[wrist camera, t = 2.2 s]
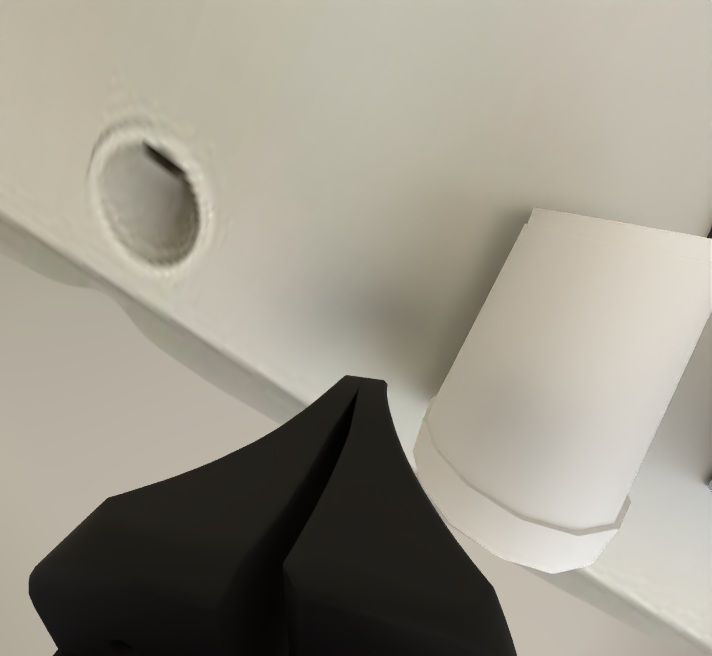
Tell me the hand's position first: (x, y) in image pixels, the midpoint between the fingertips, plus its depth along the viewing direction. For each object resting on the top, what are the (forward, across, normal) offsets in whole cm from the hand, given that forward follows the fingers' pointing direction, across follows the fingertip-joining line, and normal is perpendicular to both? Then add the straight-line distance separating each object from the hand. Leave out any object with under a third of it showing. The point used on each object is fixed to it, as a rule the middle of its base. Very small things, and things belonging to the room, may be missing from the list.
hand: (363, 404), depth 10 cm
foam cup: (+6, -8, -6) cm, 12 cm away
